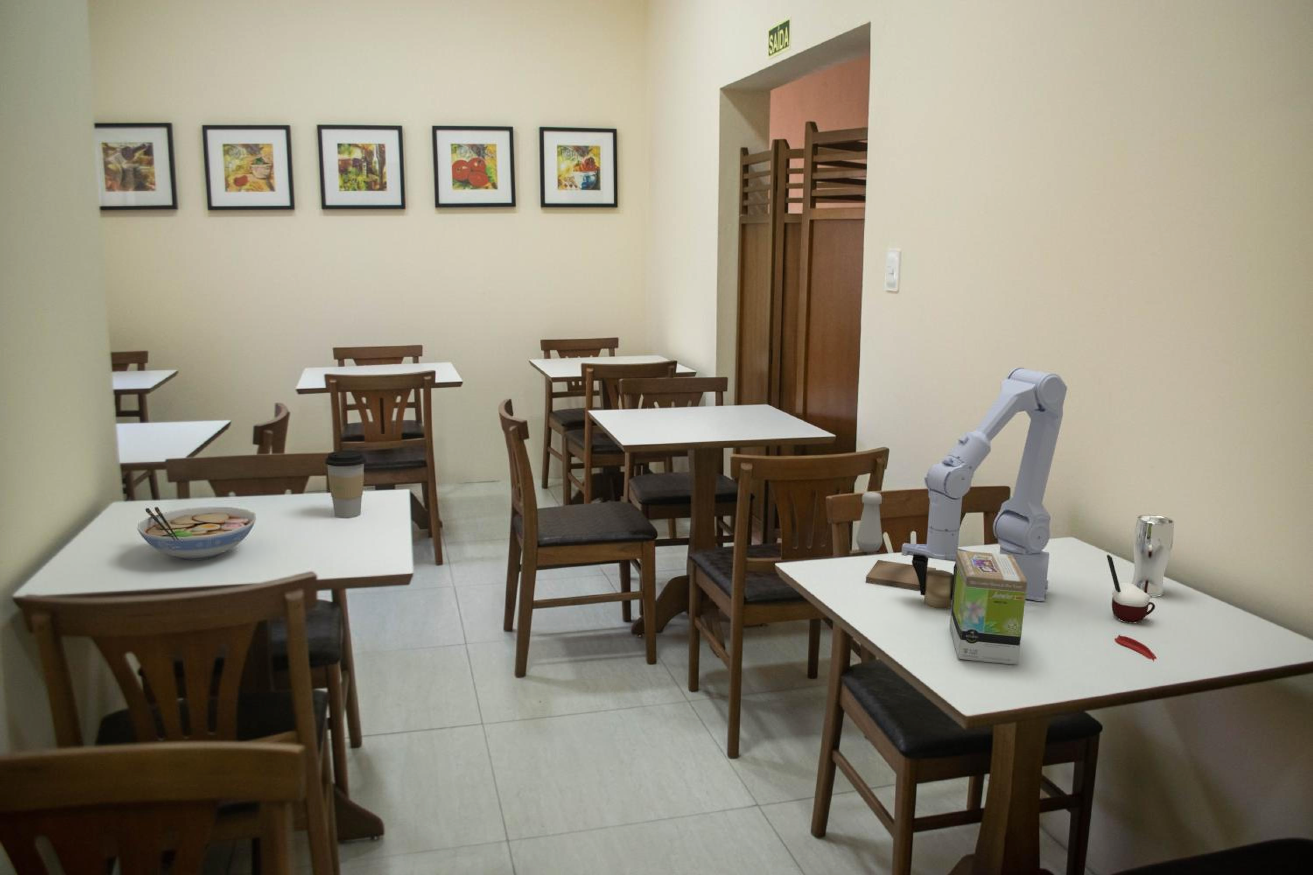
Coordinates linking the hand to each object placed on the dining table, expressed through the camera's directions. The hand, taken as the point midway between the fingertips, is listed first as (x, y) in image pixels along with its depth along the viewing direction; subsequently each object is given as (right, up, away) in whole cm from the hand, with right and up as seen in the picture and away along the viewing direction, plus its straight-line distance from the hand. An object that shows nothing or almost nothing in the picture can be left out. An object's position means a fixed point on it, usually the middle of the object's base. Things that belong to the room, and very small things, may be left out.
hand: (938, 595), depth 195 cm
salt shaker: (-6, +5, +33) cm, 34 cm away
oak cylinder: (0, -2, 0) cm, 2 cm away
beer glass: (+44, -1, +10) cm, 45 cm away
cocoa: (+33, -4, -5) cm, 34 cm away
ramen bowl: (-149, +5, +20) cm, 150 cm away
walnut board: (-4, +1, +15) cm, 15 cm away
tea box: (+2, -6, -19) cm, 20 cm away
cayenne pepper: (+29, -7, -18) cm, 35 cm away
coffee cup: (-128, +11, +51) cm, 138 cm away
